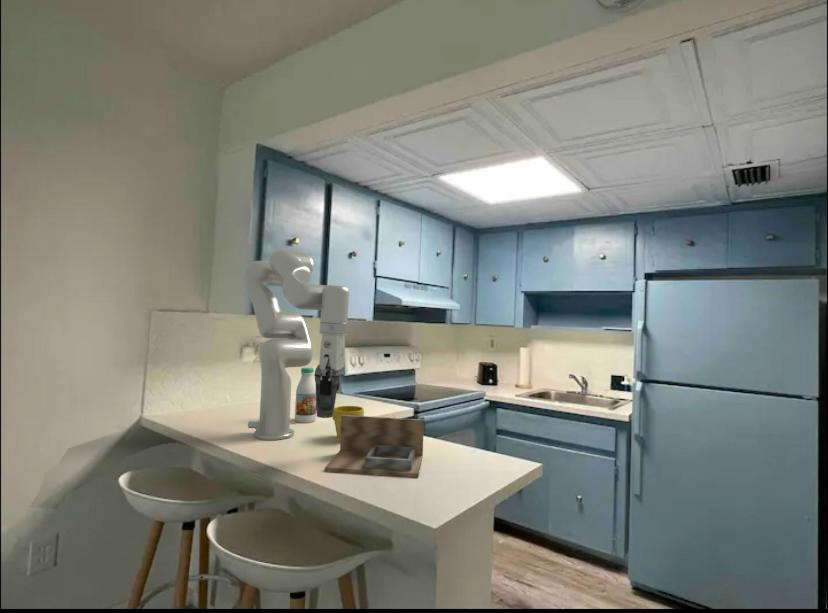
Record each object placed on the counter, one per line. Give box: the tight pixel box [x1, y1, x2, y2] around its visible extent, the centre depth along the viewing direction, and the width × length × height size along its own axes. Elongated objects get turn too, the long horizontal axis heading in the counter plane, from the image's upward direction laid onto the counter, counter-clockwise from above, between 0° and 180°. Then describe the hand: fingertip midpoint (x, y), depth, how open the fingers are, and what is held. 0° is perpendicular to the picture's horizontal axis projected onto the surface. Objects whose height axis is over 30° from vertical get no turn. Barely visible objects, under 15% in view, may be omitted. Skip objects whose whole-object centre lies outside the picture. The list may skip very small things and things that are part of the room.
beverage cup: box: [313, 364, 341, 419], centre depth 125 cm, size 7×7×20 cm
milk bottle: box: [294, 367, 317, 424], centre depth 168 cm, size 8×8×20 cm
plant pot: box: [331, 405, 365, 441], centre depth 146 cm, size 10×10×10 cm
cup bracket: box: [324, 415, 425, 478], centre depth 121 cm, size 24×16×11 cm, turn 85°
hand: (329, 391), depth 125 cm, fingers closed on beverage cup, 7 cm apart
